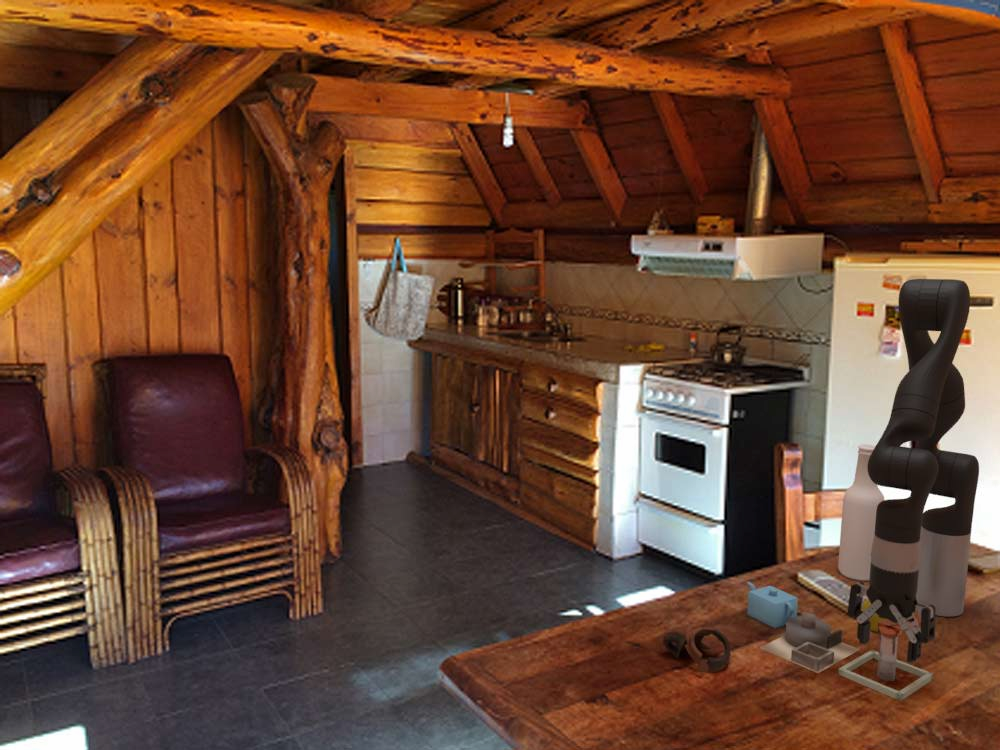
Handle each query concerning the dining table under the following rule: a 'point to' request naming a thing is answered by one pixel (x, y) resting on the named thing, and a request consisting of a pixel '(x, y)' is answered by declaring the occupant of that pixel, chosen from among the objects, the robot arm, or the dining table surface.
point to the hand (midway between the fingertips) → (887, 651)
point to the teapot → (771, 605)
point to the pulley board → (810, 644)
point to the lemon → (874, 619)
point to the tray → (898, 695)
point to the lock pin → (888, 649)
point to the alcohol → (859, 520)
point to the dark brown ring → (694, 641)
